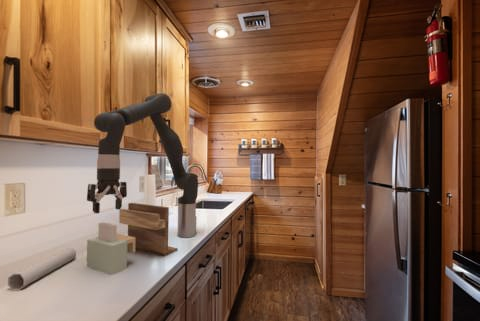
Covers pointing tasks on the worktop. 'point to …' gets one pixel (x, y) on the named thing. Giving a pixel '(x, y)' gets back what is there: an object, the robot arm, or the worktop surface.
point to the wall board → (148, 227)
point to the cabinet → (109, 249)
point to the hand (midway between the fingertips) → (107, 211)
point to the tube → (40, 269)
